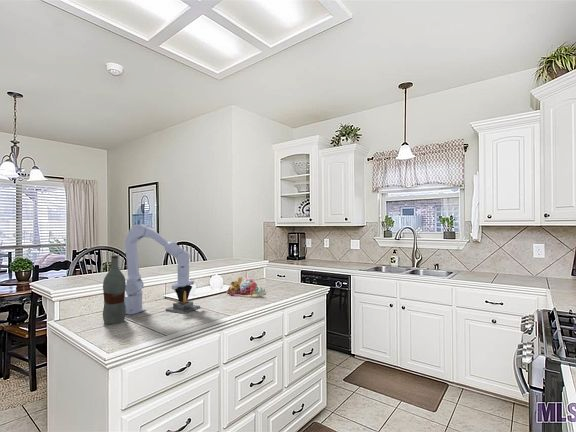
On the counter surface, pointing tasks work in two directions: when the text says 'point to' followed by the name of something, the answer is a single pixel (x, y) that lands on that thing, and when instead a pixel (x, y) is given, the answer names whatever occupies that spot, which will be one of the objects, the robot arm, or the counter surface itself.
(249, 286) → the pastel sphere sculpture
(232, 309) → the counter surface
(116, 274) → the bottle
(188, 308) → the grey slotted socket block
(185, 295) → the round-ended pin
